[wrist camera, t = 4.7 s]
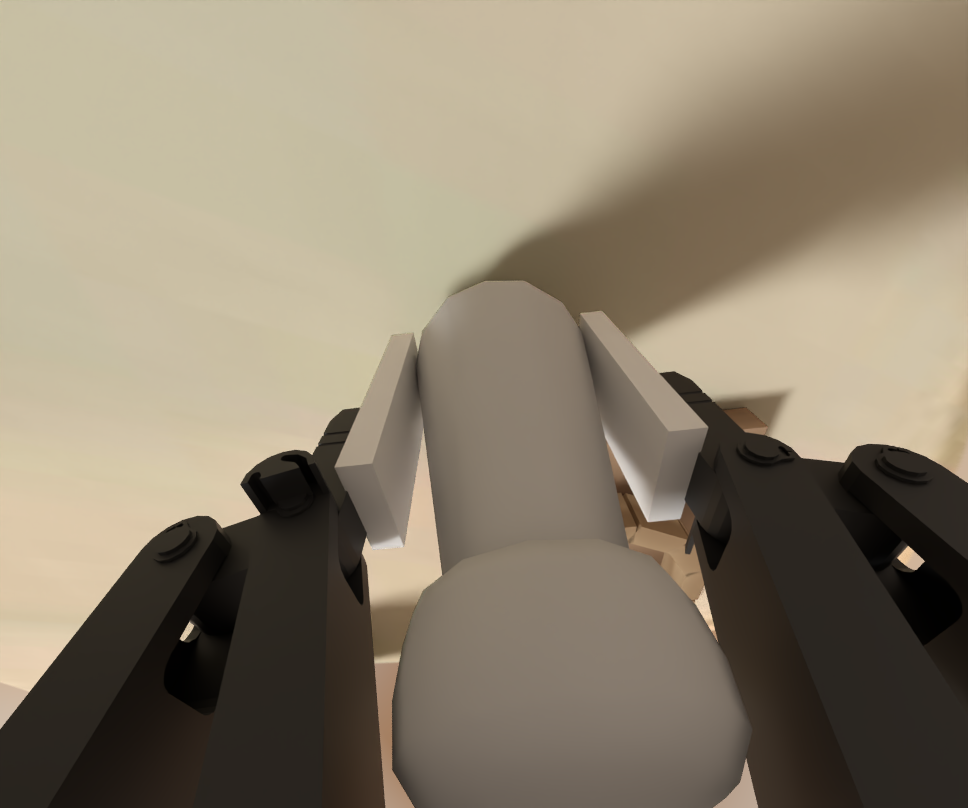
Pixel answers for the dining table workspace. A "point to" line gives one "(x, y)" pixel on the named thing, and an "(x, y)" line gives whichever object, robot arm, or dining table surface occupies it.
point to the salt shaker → (546, 593)
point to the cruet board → (670, 522)
